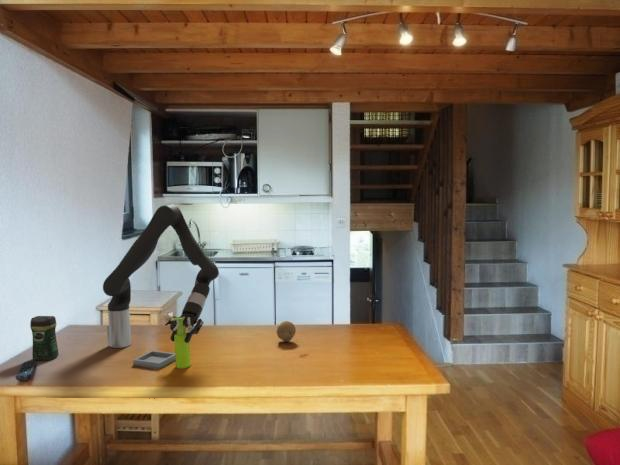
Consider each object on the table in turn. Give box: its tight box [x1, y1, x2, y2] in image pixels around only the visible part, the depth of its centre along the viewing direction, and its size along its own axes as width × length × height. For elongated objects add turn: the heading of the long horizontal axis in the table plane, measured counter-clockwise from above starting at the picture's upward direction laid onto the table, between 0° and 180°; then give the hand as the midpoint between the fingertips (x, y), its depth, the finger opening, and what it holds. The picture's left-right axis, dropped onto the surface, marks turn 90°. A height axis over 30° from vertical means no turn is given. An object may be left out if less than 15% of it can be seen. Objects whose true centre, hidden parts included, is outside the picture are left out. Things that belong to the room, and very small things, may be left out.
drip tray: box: [132, 350, 176, 370], centre depth 202 cm, size 13×12×2 cm
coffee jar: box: [29, 315, 59, 361], centre depth 208 cm, size 10×8×19 cm
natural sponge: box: [276, 320, 297, 343], centre depth 225 cm, size 9×9×10 cm
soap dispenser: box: [170, 317, 192, 369], centre depth 197 cm, size 6×7×20 cm
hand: (179, 341), depth 195 cm, fingers closed on soap dispenser, 6 cm apart
